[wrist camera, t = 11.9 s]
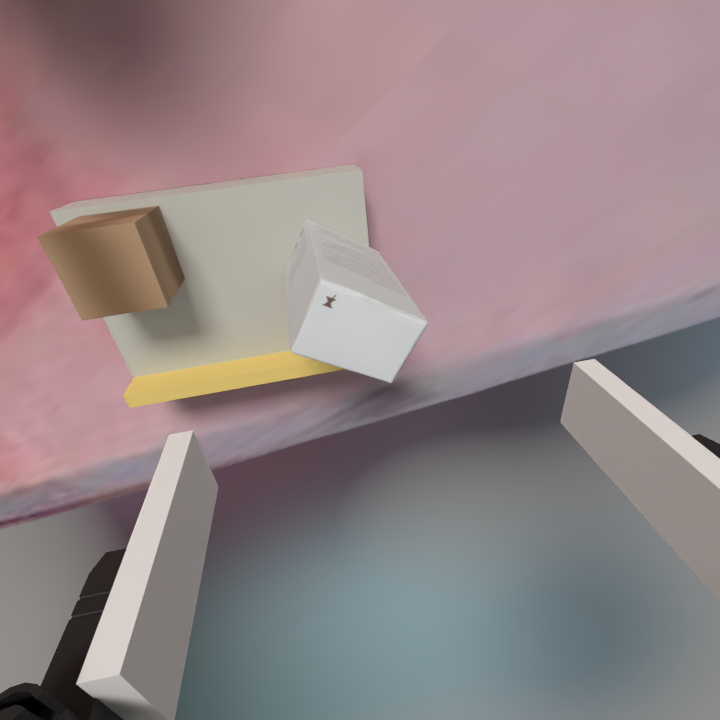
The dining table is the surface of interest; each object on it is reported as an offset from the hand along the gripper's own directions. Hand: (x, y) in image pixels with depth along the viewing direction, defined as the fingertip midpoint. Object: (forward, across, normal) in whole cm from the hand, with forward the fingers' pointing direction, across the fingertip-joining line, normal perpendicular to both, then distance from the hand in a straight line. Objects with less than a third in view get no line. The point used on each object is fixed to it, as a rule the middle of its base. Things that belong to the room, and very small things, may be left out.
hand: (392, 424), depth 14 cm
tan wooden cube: (+18, +14, -3) cm, 23 cm away
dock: (+22, +8, +1) cm, 23 cm away
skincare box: (+19, 0, 0) cm, 19 cm away
